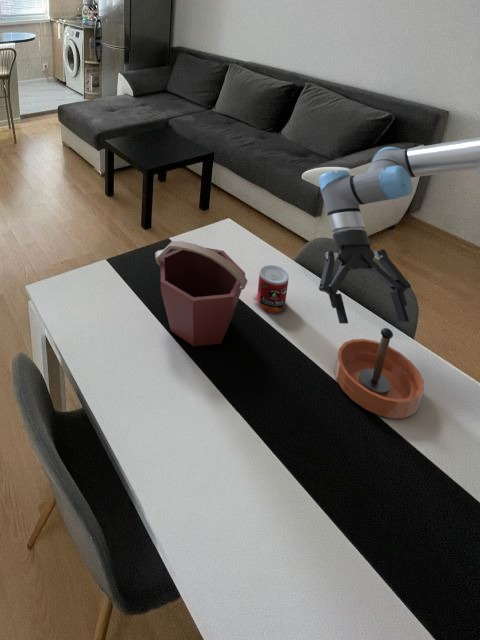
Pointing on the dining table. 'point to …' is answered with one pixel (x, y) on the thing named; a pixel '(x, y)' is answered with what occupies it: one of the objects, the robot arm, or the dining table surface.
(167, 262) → the bucket
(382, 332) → the ring stacker peg
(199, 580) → the dining table surface
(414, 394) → the bowl
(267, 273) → the canned food
